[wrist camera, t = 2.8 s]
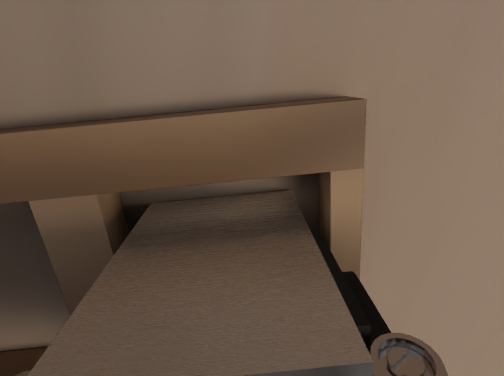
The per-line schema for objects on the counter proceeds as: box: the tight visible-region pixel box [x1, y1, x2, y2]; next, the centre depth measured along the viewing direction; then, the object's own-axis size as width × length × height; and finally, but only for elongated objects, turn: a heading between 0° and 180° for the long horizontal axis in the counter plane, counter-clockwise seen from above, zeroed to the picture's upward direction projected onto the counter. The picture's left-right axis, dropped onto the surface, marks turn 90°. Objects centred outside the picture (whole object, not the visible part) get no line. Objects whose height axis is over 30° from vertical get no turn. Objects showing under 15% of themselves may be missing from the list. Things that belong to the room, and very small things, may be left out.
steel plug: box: [28, 190, 374, 376], centre depth 8 cm, size 5×5×7 cm
